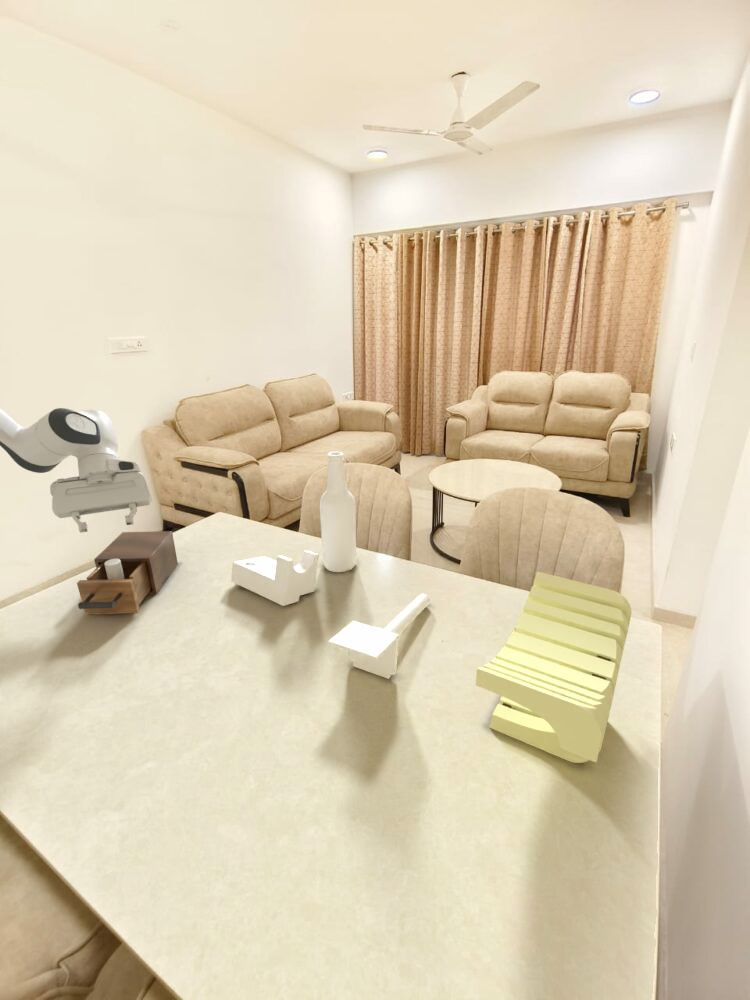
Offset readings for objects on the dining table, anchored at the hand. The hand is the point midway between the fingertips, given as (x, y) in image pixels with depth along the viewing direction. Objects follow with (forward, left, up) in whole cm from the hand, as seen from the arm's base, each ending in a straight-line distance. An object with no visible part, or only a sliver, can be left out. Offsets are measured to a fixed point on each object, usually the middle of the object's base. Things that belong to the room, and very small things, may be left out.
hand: (107, 527), depth 113 cm
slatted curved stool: (+88, -43, -17) cm, 99 cm away
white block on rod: (+64, -22, -17) cm, 69 cm away
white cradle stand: (+37, +1, -17) cm, 40 cm away
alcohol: (+52, +11, -17) cm, 55 cm away
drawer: (+3, -6, -16) cm, 17 cm away
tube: (+3, -6, -15) cm, 16 cm away
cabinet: (+3, +6, -17) cm, 18 cm away
